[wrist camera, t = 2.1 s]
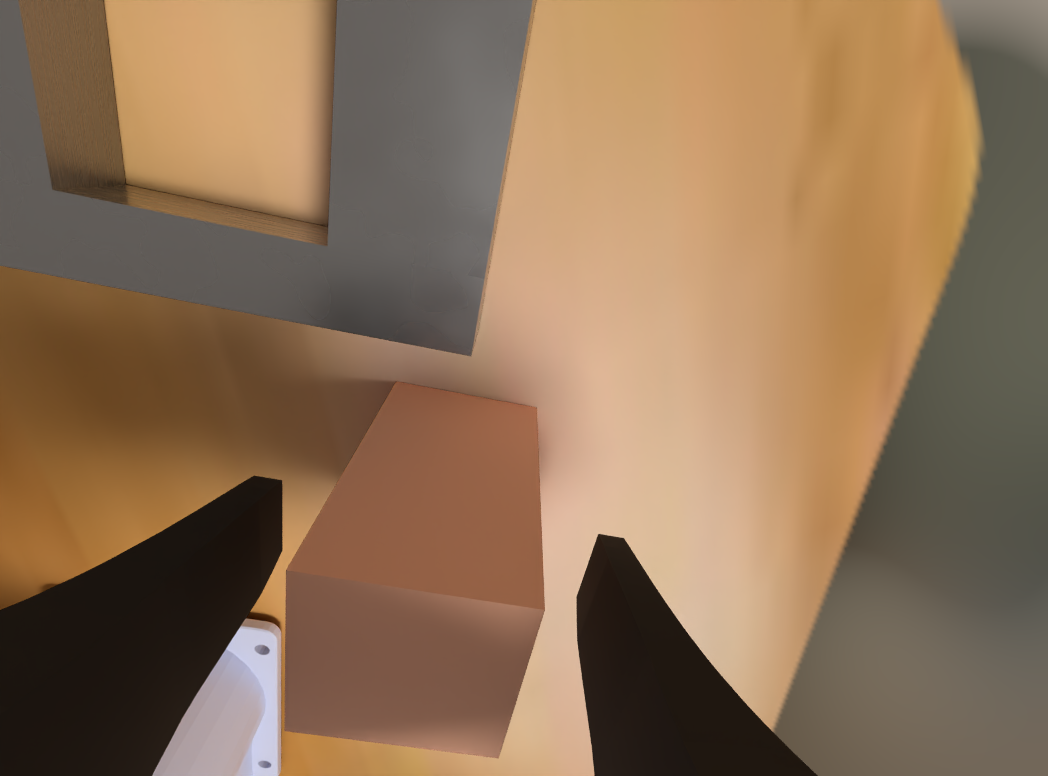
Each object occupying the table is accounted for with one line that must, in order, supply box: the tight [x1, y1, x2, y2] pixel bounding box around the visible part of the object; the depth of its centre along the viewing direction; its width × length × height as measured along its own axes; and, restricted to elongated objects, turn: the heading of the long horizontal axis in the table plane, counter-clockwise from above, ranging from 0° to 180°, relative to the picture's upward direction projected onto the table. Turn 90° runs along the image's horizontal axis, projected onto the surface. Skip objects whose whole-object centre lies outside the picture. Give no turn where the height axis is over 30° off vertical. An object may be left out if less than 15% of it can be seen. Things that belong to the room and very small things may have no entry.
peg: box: [285, 382, 545, 758], centre depth 12 cm, size 4×4×7 cm
